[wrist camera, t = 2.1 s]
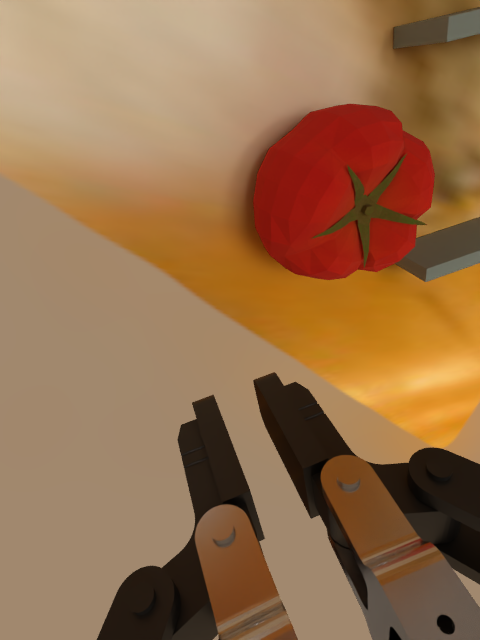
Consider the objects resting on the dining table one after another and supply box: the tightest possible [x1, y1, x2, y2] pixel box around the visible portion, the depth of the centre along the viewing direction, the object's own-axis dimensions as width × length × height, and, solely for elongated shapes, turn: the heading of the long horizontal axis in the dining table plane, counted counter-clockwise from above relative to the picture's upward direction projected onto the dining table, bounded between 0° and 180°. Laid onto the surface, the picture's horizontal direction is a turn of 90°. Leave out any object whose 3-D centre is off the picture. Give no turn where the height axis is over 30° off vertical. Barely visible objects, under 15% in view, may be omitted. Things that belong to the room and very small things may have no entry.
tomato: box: [253, 104, 435, 280], centre depth 26 cm, size 11×12×9 cm
